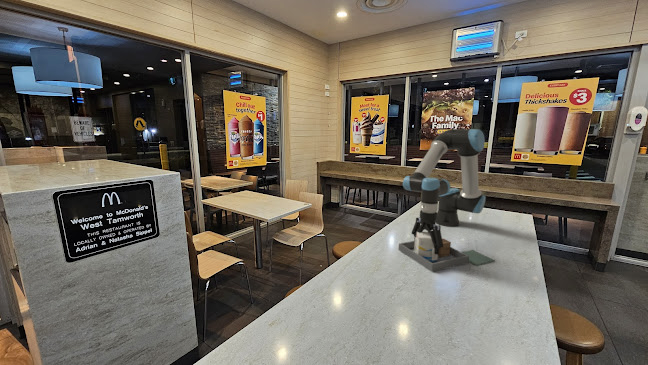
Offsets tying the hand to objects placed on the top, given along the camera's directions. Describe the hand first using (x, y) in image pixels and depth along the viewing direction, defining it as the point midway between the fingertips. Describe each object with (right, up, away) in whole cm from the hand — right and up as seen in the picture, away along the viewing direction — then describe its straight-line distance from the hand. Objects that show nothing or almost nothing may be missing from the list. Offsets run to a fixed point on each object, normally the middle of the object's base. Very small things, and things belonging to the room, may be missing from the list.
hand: (425, 254), depth 131 cm
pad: (+24, -2, 0) cm, 24 cm away
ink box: (0, -2, 0) cm, 2 cm away
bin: (+4, -1, +2) cm, 4 cm away
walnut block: (+9, -1, +4) cm, 10 cm away
